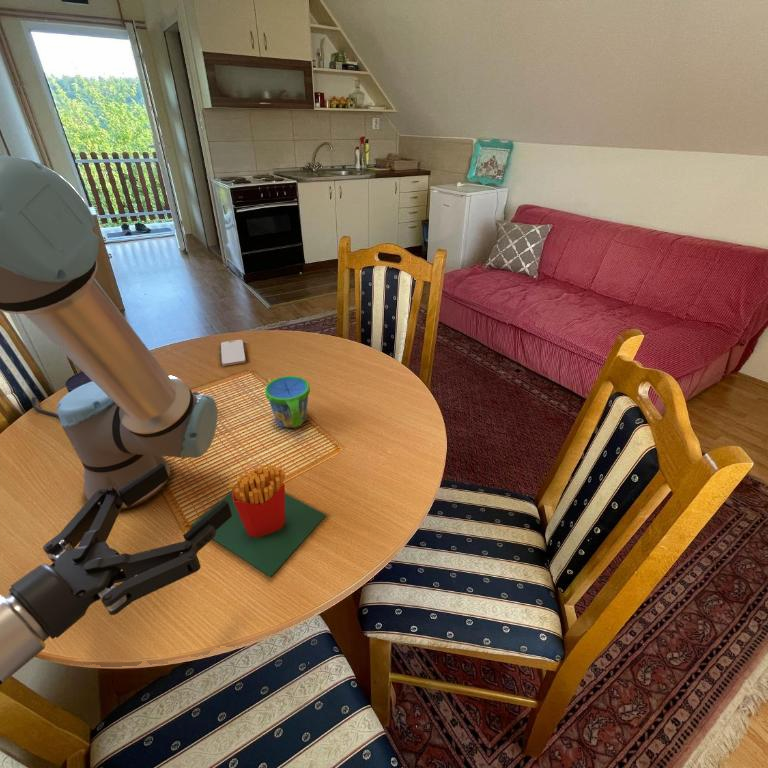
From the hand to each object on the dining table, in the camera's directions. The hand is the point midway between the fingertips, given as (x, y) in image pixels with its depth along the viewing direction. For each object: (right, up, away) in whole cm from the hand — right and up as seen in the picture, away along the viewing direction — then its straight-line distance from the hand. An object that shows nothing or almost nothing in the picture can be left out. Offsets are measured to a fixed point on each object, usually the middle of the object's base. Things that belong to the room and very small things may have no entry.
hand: (195, 488), depth 60 cm
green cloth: (+4, -11, +19) cm, 22 cm away
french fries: (+5, -12, +18) cm, 22 cm away
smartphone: (-22, +25, +75) cm, 82 cm away
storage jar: (-39, +4, +41) cm, 57 cm away
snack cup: (+4, +6, +46) cm, 46 cm away
